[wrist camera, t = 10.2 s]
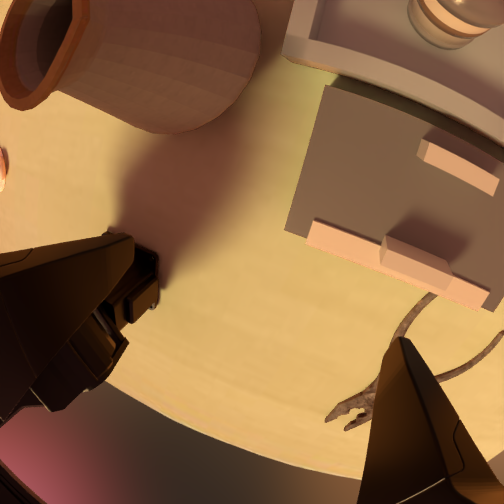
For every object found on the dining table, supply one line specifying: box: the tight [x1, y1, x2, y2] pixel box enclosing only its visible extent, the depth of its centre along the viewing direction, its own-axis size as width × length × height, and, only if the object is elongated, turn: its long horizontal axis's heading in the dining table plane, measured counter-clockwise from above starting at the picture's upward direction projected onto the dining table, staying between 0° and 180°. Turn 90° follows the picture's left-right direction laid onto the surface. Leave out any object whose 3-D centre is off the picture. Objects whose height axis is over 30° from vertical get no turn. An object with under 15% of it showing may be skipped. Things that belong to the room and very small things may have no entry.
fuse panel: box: [284, 85, 504, 312], centre depth 15 cm, size 16×9×4 cm, turn 78°
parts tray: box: [281, 0, 504, 149], centre depth 10 cm, size 16×12×3 cm
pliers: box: [325, 292, 504, 431], centre depth 23 cm, size 10×1×20 cm
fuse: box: [407, 0, 504, 50], centre depth 8 cm, size 4×4×7 cm
